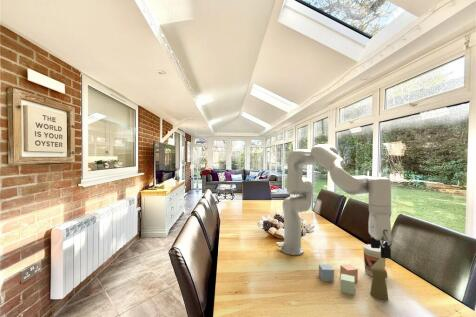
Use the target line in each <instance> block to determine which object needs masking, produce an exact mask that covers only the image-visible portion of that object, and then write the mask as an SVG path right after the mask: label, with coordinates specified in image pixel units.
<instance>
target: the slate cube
mask: <svg viewBox="0 0 476 317" xmlns="http://www.w3.org/2000/svg"><path fill="white" fill-rule="evenodd" d="M318 276H319V278H320V279H321V280H322V282H323V281H324V282H326V281H327V282H333V281H335V269H334V268H333V267H332V265H331V264H329V263H327V264H326V263H325V264H324V263H320V264H318Z"/></svg>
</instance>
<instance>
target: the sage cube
mask: <svg viewBox="0 0 476 317" xmlns="http://www.w3.org/2000/svg"><path fill="white" fill-rule="evenodd" d="M355 282H356V281H354V276H350V275H345V274H341V276H340V292H342V293H345V294H351V295H355Z"/></svg>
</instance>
